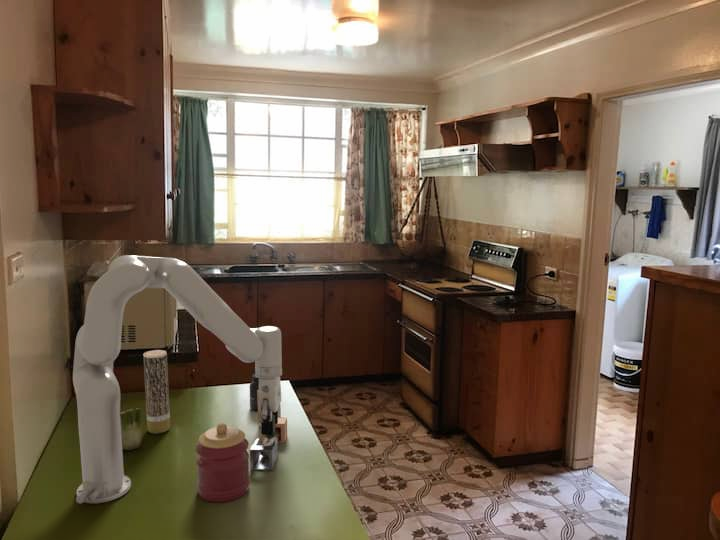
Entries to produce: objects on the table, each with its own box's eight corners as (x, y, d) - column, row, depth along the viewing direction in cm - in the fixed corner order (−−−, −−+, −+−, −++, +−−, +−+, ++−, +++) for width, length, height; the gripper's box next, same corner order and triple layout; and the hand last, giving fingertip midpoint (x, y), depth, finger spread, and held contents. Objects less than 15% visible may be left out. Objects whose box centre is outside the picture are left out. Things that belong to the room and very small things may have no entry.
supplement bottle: (246, 410, 197) (245, 377, 195) (255, 403, 203) (254, 370, 201) (264, 413, 195) (263, 379, 193) (273, 405, 201) (272, 372, 200)
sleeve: (272, 470, 156) (272, 450, 155) (250, 470, 156) (249, 449, 155) (277, 456, 164) (277, 437, 163) (256, 456, 164) (256, 436, 163)
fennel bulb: (142, 443, 172) (140, 405, 170) (142, 451, 167) (139, 411, 165) (121, 446, 170) (119, 407, 168) (120, 454, 165) (118, 414, 164)
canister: (195, 481, 150) (192, 417, 148) (245, 473, 155) (243, 410, 152) (200, 507, 138) (197, 438, 136) (254, 497, 143) (252, 430, 140)
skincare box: (273, 420, 189) (272, 384, 187) (281, 424, 186) (281, 388, 184) (257, 426, 184) (256, 389, 182) (265, 430, 181) (264, 393, 179)
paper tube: (173, 425, 184) (170, 350, 181) (164, 435, 178) (160, 356, 174) (153, 424, 185) (149, 349, 181) (143, 434, 178) (139, 356, 175)
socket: (284, 442, 173) (284, 423, 172) (261, 442, 173) (261, 423, 172) (287, 436, 177) (286, 417, 176) (264, 435, 178) (264, 417, 177)
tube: (272, 457, 162) (271, 424, 161) (259, 456, 163) (259, 424, 161) (280, 438, 174) (279, 408, 173) (268, 438, 174) (267, 407, 173)
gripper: (276, 380, 156) (277, 442, 159) (286, 360, 173) (287, 417, 176) (248, 379, 156) (250, 441, 159) (261, 360, 174) (263, 416, 176)
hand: (269, 428), depth 168 cm, fingers open, 6 cm apart
